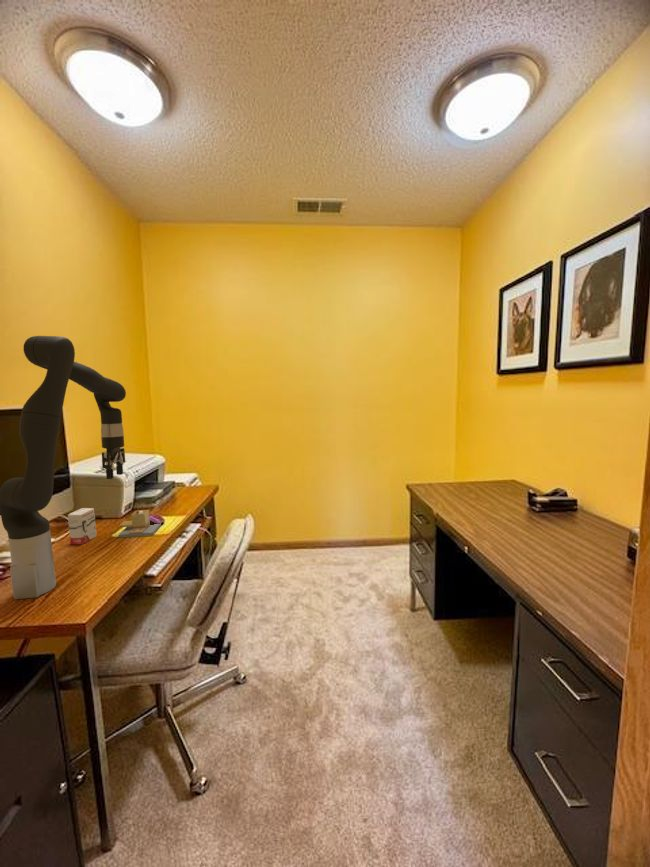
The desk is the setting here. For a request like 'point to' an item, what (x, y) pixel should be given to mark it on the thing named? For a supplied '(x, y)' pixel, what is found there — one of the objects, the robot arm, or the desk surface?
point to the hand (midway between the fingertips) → (115, 476)
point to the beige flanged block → (137, 519)
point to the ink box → (82, 525)
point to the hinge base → (140, 530)
